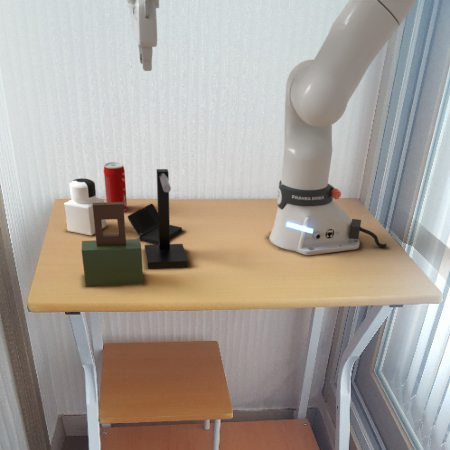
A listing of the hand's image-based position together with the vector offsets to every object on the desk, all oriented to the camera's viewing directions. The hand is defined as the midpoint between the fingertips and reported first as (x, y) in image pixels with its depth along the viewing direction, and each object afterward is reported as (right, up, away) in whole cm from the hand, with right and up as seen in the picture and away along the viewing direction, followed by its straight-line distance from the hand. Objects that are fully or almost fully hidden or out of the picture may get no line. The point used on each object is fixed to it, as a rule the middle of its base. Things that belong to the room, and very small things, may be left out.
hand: (145, 66), depth 123 cm
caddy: (-7, -45, +2) cm, 45 cm away
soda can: (-13, -18, +37) cm, 43 cm away
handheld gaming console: (-1, -29, +24) cm, 37 cm away
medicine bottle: (-18, -27, +25) cm, 41 cm away
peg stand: (+3, -38, +11) cm, 40 cm away
